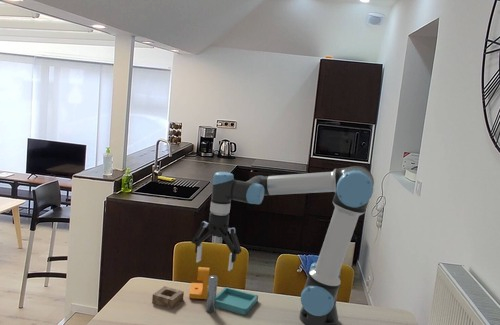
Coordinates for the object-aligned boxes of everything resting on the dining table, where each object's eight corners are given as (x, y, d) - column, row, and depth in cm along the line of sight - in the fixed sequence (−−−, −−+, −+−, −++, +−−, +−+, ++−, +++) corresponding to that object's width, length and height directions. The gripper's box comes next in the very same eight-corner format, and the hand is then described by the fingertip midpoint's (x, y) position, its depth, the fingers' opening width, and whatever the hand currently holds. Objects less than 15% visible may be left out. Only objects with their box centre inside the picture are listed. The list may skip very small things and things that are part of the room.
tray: (257, 301, 192) (258, 295, 191) (245, 315, 179) (246, 309, 178) (225, 292, 197) (225, 286, 196) (211, 305, 184) (211, 299, 183)
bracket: (190, 288, 197) (192, 262, 195) (207, 289, 198) (209, 263, 196) (189, 299, 186) (191, 272, 185) (206, 301, 187) (209, 273, 185)
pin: (216, 310, 180) (219, 276, 178) (212, 313, 177) (215, 279, 175) (208, 307, 182) (211, 274, 179) (204, 311, 178) (207, 277, 176)
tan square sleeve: (183, 299, 186) (183, 291, 186) (171, 308, 178) (172, 300, 177) (163, 294, 189) (164, 286, 189) (152, 302, 181) (152, 294, 180)
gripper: (253, 217, 172) (247, 269, 176) (195, 204, 181) (190, 255, 184) (246, 221, 165) (240, 276, 169) (185, 208, 174) (181, 260, 177)
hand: (214, 265), depth 176 cm, fingers open, 13 cm apart
